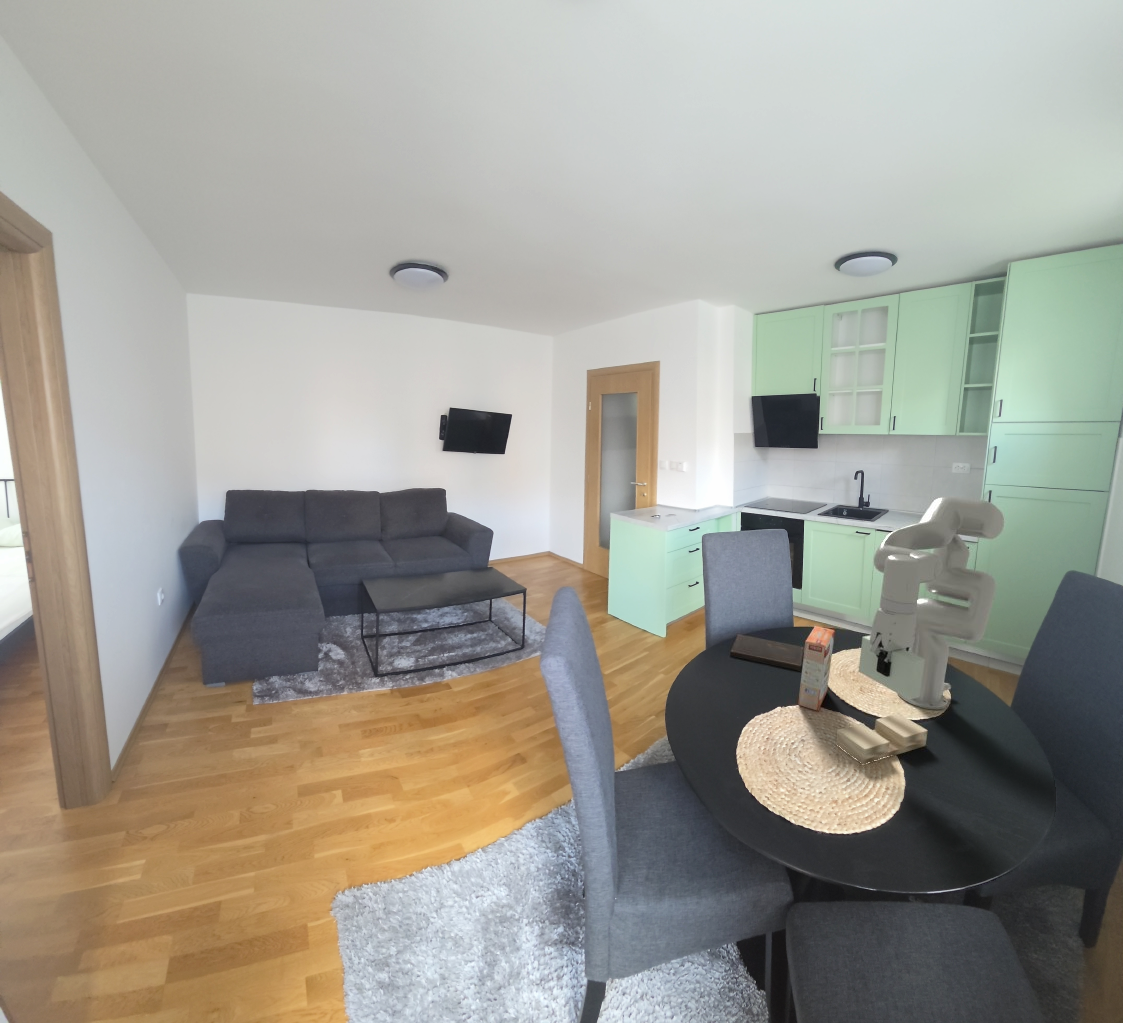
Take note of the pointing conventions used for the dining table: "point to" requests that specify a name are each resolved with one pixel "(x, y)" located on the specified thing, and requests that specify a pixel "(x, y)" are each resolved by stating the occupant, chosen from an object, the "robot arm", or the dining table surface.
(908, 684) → the pale green plate
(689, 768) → the dining table surface
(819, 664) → the cracker box
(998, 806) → the dining table surface
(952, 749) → the dining table surface
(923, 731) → the slotted rail
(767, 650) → the hardcover book
